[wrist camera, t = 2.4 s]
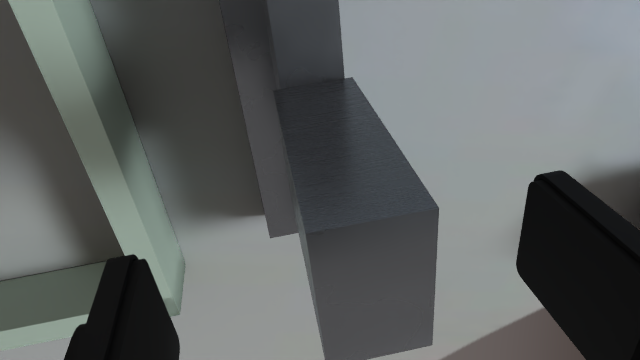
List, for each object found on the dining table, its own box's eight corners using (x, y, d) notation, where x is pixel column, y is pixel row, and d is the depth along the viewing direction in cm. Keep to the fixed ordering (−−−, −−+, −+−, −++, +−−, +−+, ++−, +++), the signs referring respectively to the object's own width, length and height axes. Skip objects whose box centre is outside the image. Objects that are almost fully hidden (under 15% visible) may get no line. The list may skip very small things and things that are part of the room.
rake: (267, 213, 24) (300, 483, 13) (200, -100, 16) (149, -73, 5) (337, 200, 24) (427, 452, 13) (305, -113, 16) (454, -112, 6)
